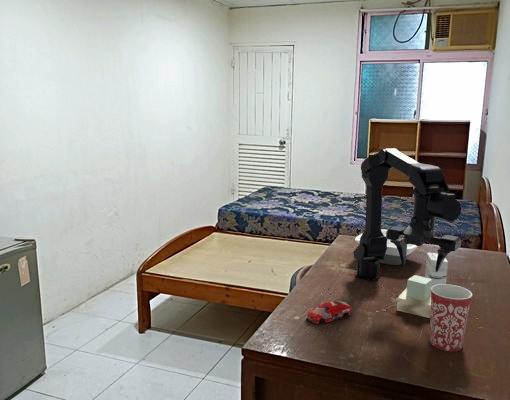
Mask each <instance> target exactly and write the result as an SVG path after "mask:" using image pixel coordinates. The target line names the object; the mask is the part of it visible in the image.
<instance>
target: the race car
mask: <svg viewBox="0 0 510 400" xmlns="http://www.w3.org/2000/svg"><path fill="white" fill-rule="evenodd" d="M352 309H353V308H352V306H351V305H350V304H349V303H348V302H345V301H340V300H339V301H338V300H332V301H326V302H324V303H322V304H321V305H320V304H318V306H317V307H315V308H313V309H312V308H311V309H310V310H309V311H308V312H307V314H306V315H307V317H306V319H307V321H308V322H311V323H312V324H317V325H324V324H325V323H326V324H327V323H329V322H334V321H337V320H341V319H347V318H348V317H350V316H351V315H352V314H353V310H352Z"/></svg>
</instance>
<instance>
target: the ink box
mask: <svg viewBox="0 0 510 400" xmlns="http://www.w3.org/2000/svg"><path fill="white" fill-rule="evenodd" d="M437 257H438V252H426V259H425V260H426V261H425V272H424V273H425V275H424V277H425V278H429V279H432V286H434V285H437V284H447V278H448V277H447V276H448V268H449V261H448V260H447V258H446V257H445V259H444V261H443V263H442V265H441V267H440V269H439V271H438V272H436V262H437Z"/></svg>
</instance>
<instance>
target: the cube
mask: <svg viewBox="0 0 510 400" xmlns="http://www.w3.org/2000/svg"><path fill="white" fill-rule="evenodd" d="M431 287H432V279H429V278H425V276H420V275H417V274H414V275H413V276H410V277H409V278H408V279H407V282H406V288H407V294H406V297H409V298H413V299H417V300H420V301H425V300H427V299H428V298H429V297H430V296H431Z"/></svg>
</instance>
